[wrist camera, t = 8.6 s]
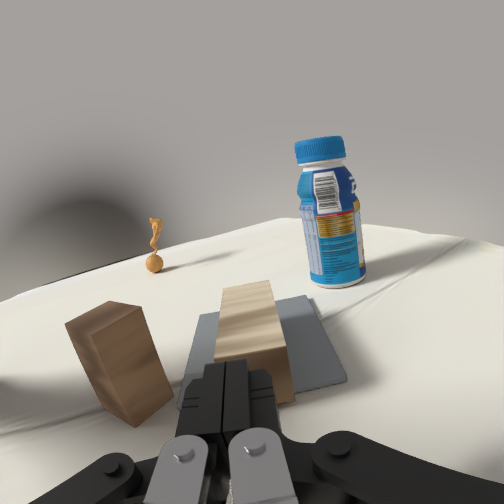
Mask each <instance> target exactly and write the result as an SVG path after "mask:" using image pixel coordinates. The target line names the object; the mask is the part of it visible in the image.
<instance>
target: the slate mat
mask: <svg viewBox="0 0 504 504" xmlns="http://www.w3.org/2000/svg"><path fill="white" fill-rule="evenodd" d="M275 305H276V308H277V312H278V316H279V320H280V324H281V328H282V332H283V335H284V339H285V343H286V347H287V353H288V359H289V365H290V371H291V377H292V383H293V389H294V393H298V392H303V391H308V390H312V389H317V388H321V387H325V386H329V385H333V384H337V383H341V382H345V381H347V375H346V373H345V371H344V369H343V367H342V365H341V363H340V361H339V359H338V357H337V355H336V353H335V351H334V349H333V347H332V345H331V343H330V341H329V339H328V337H327V335H326V333H325V331H324V329H323V327H322V325H321V323H320V321H319V319H318V317H317V315H316V313H315V312H314V310H313V308H312V306H311V304H310V302H309V300H308V298H307V296H306V295H303V296H298V297H293V298H288V299H283V300H278V301H275ZM219 316H220V311H219V312H214V313H208V314H202V315H200V317H199V320H198V324H197V328H196V332H195V336H194V339H193V343H192V347H191V351H190V355H189V359H188V363H187V366H186V370H185V374H184V378H183V382H182V386H181V390H180V394H179V398H178V403H177V406H178V408H179V410H181V409H182V407H181V406H182V402H183V397H184V393H185V389H186V387H187V386H188V385H189V384H190V382H191V381H192V380H193V379H199V378H203V373H204V366H205V364H208V363H215V362H214V353H215V345H216V338H217V330H218V323H219Z"/></svg>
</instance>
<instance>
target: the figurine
mask: <svg viewBox="0 0 504 504" xmlns="http://www.w3.org/2000/svg"><path fill="white" fill-rule="evenodd" d="M150 223H152V229H153V232H154V237H153V238H152V240H151V242H150V245H151V247H153V248H154V249H155V251H154V253H152V254H151V256H149V257H148V258H147V260H146V267H147V269H148V270H149V271H151V272H159V271H160V270H161V269H162V267H163V260H162V258H161V257H160V256H158V255H156V253H157V249H158V248H157V245H156V244H155V242H156V241H157V239H158V237H159V234H160V231H161V229H162V226H163V221H162V220H161V219H154V218H150Z"/></svg>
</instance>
